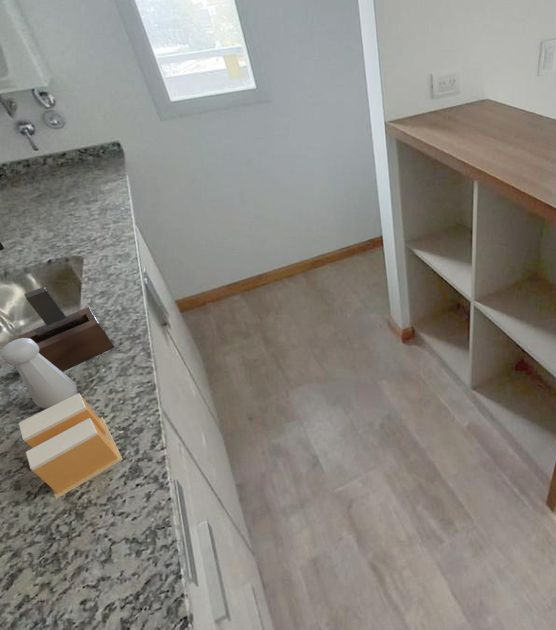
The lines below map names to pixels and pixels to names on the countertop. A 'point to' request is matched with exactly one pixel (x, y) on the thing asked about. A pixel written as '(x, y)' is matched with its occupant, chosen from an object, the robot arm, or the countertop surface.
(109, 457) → the cake slice
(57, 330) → the knife
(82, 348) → the knife block
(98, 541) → the countertop surface
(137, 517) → the countertop surface
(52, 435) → the cake
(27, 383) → the salt shaker
